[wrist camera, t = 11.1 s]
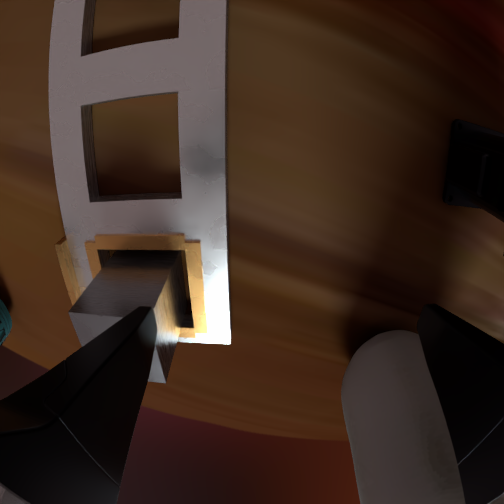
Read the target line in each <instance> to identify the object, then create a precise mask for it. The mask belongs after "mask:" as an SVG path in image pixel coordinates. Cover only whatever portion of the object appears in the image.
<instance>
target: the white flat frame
mask: <svg viewBox="0 0 504 504" xmlns="http://www.w3.org/2000/svg"><path fill="white" fill-rule="evenodd" d="M95 1H96V0H55V3H54V11H53V19H52V28H51V39H50V55H49V116H50V132H51V144H52V154H53V163H54V171H55V179H56V185H57V192H58V198H59V204H60V209H61V214H62V219H63V224H64V229H65V234H66V236H64V237H63V238H62V239H61V240H60V241H58V242H57V243H56V244H55V248H56V252H57V255H58V259H59V263H60V266H61V270H62V273H63V277H64V280H65V283H66V286H67V290H68V293H69V296H70V299H71V302H72V305H74V304H75V302H76V301H77V300H78V298H79V297H80V296H81V294H82V293H83V292H84V290H85V289H86V288H87V287H88V285H89V284H90V283H91V281H92V280H93V279H94V278H95V276H96V275H97V274H98V273H99V271H100V270H101V269H102V268H103V266H104V265H105V264H106V263H107V261H108V260H109V259H110V255H109V250H185V251H186V261H187V271H188V280H189V289H190V298H191V306H192V314H193V315H188V314H185V316H184V319H183V323H182V326H181V330H180V333H179V337H178V340H177V342H191V343H214V344H231V334H232V327H231V300H230V270H229V232H228V176H227V49H228V0H180V16H179V38H174V39H166V40H159V41H152V42H146V43H140V44H134V45H129V46H124V47H119V48H114V49H110V50H105V51H101V52H97V53H93V54H92V35H93V21H94V10H95ZM172 93H178V118H179V150H180V172H181V190H182V192H178V193H148V194H126V195H108V196H99V190H98V182H97V174H96V165H95V154H94V142H93V128H92V106H91V105H94V104H99V103H105V102H111V101H117V100H123V99H130V98H137V97H144V96H153V95H162V94H172Z"/></svg>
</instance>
